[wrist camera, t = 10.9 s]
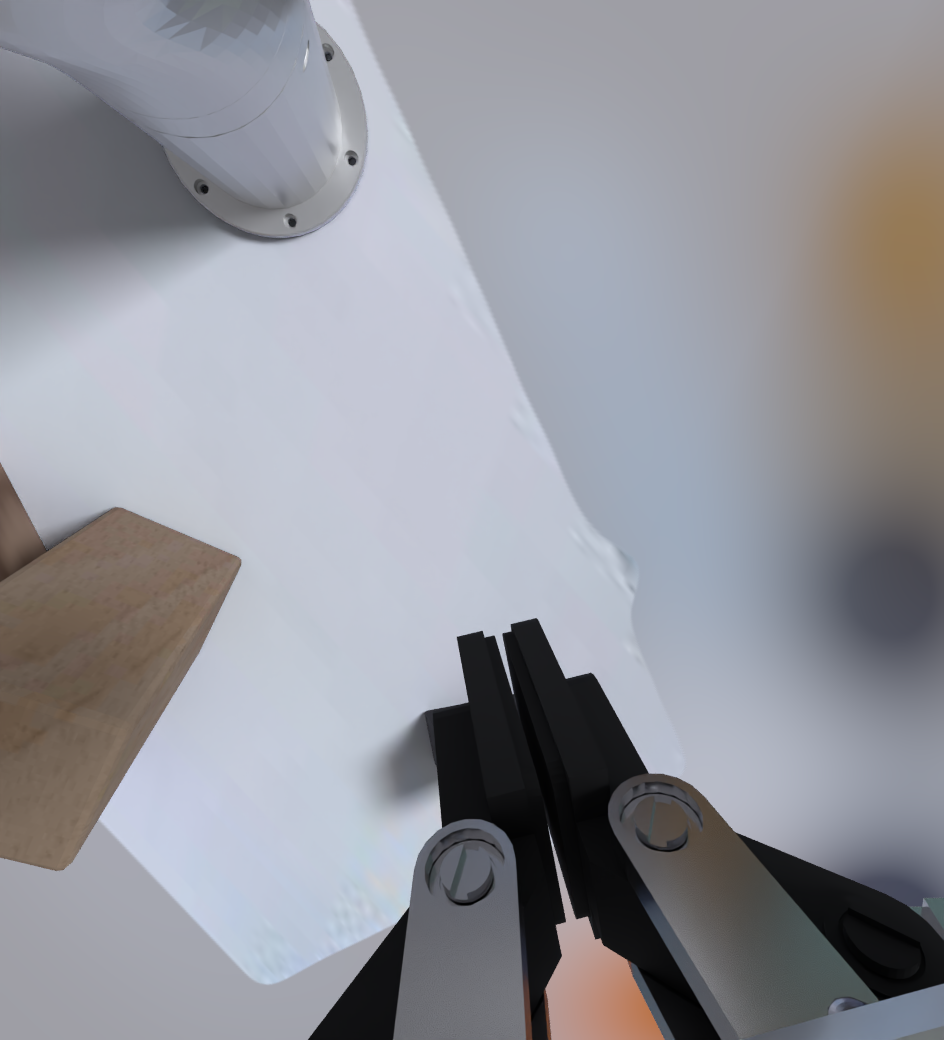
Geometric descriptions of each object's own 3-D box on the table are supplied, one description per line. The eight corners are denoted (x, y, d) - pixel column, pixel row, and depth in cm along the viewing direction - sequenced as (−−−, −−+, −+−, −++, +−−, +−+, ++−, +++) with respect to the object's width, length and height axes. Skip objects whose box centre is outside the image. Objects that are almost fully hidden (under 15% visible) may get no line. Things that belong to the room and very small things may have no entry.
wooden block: (74, 608, 44) (-170, 822, 25) (116, 502, 41) (-118, 652, 23) (198, 653, 46) (63, 878, 28) (245, 557, 44) (131, 731, 25)
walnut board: (-55, 434, 38) (-166, 461, 31) (-19, 426, 38) (-120, 452, 31) (114, 741, 48) (62, 818, 41) (143, 735, 48) (96, 810, 41)
